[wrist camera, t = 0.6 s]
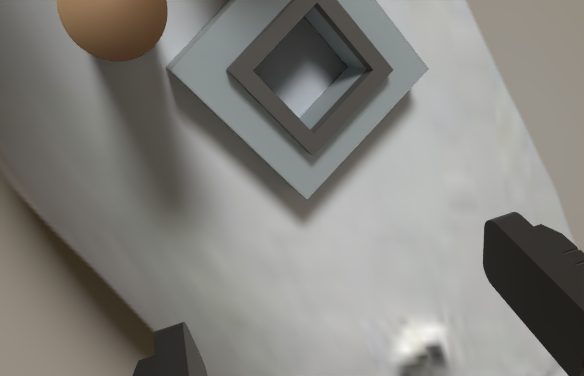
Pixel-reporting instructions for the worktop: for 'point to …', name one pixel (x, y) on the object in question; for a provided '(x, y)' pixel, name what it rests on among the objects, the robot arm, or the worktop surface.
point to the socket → (328, 107)
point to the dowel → (114, 26)
